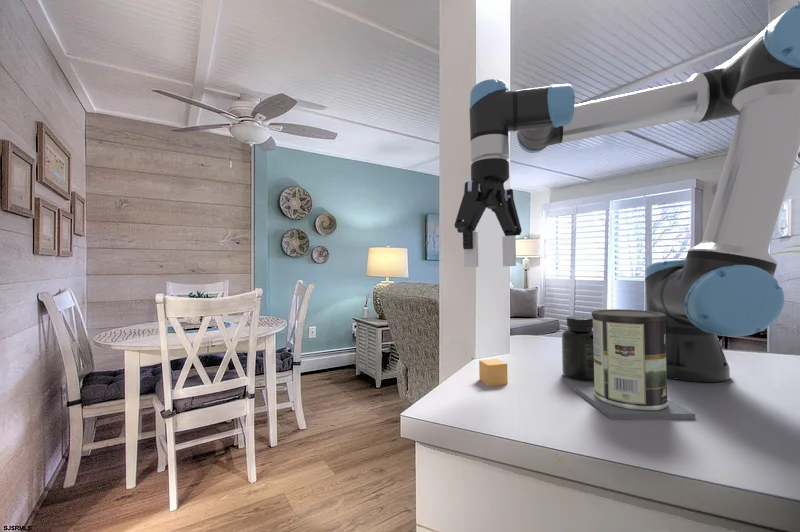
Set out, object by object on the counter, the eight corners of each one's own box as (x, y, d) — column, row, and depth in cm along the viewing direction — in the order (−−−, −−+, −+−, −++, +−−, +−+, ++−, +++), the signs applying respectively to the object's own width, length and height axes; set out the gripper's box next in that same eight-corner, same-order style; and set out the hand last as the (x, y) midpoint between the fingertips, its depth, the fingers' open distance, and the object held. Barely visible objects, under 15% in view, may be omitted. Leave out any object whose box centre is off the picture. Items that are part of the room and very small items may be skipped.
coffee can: (649, 390, 63) (647, 309, 63) (682, 413, 53) (680, 316, 53) (585, 387, 65) (583, 308, 66) (605, 409, 55) (603, 316, 55)
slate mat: (643, 391, 65) (643, 386, 65) (695, 419, 53) (695, 413, 53) (575, 391, 66) (575, 387, 66) (611, 419, 54) (611, 413, 54)
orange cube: (497, 378, 74) (497, 358, 74) (507, 384, 71) (507, 363, 71) (479, 380, 74) (479, 360, 74) (488, 386, 70) (488, 365, 70)
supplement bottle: (597, 373, 76) (596, 316, 76) (602, 383, 70) (600, 320, 70) (562, 370, 79) (561, 315, 79) (563, 379, 73) (561, 319, 73)
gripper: (506, 175, 85) (507, 266, 85) (434, 154, 68) (436, 267, 68) (536, 168, 80) (538, 265, 79) (467, 143, 63) (469, 266, 63)
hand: (491, 266), depth 74 cm, fingers open, 13 cm apart
